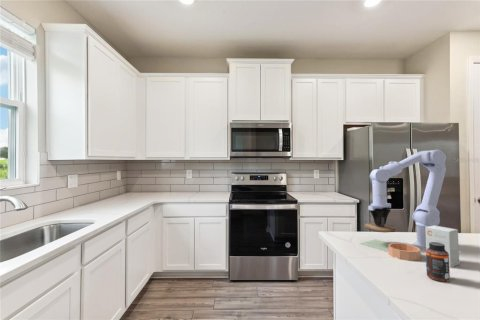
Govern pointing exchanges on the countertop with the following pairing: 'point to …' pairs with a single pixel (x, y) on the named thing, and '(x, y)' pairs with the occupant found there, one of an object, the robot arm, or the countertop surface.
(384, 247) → the mat
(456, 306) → the countertop surface
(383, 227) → the lid
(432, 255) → the supplement bottle
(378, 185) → the robot arm
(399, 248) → the bowl
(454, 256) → the small box
